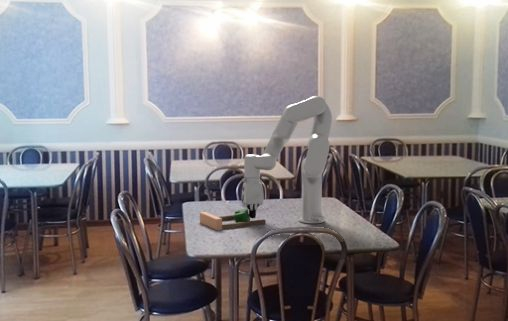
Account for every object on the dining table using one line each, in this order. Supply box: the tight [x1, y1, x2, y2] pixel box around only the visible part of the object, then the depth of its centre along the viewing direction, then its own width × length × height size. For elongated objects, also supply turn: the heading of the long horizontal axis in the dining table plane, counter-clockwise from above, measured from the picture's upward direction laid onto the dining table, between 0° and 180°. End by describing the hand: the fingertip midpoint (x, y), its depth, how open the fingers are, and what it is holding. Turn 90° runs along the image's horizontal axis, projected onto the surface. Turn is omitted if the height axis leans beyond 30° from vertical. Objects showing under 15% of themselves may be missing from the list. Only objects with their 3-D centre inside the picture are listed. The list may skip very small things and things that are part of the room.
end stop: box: [199, 211, 223, 231], centre depth 284 cm, size 18×3×5 cm, turn 29°
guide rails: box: [218, 214, 267, 230], centre depth 290 cm, size 18×22×2 cm
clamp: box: [232, 207, 251, 223], centre depth 291 cm, size 12×6×9 cm, turn 170°
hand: (252, 217), depth 294 cm, fingers closed
